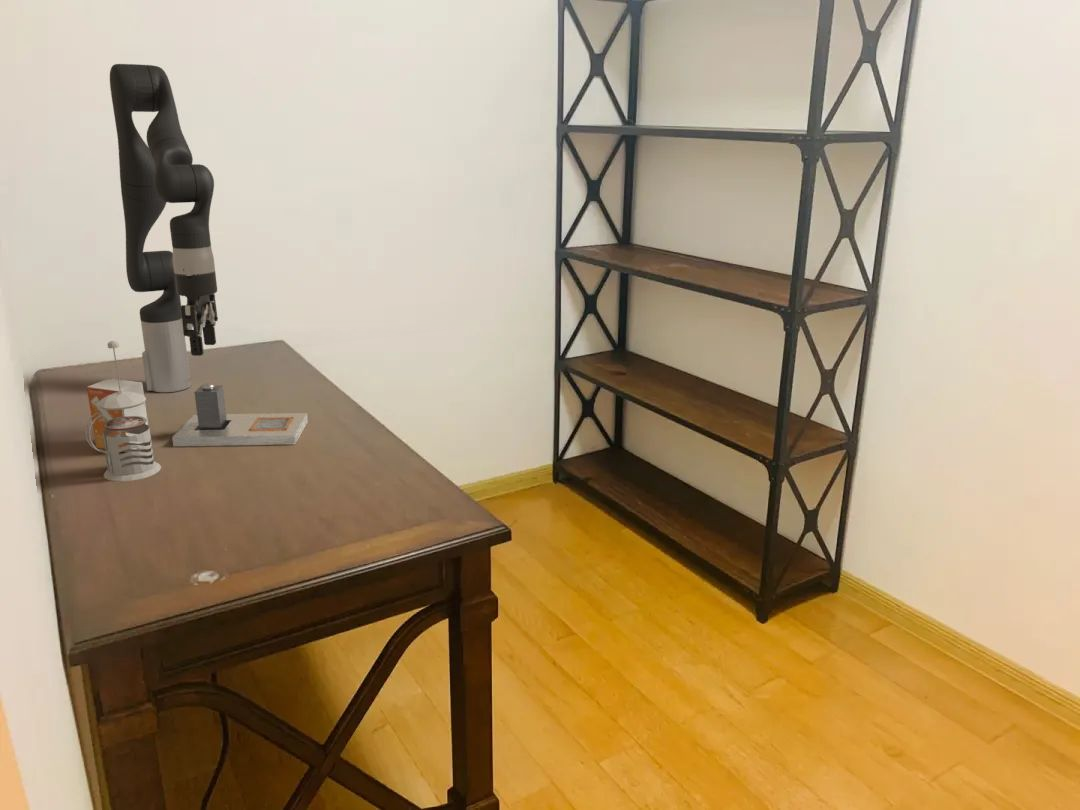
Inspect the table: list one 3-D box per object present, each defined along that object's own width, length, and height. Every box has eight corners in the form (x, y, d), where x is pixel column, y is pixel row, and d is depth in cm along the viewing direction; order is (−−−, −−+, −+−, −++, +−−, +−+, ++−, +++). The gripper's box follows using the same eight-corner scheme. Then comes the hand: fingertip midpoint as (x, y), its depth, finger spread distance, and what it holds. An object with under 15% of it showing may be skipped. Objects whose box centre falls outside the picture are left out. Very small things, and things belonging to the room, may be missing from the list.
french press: (170, 470, 156) (152, 340, 148) (105, 489, 148) (83, 352, 140) (148, 457, 163) (129, 331, 155) (84, 473, 155) (61, 342, 147)
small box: (95, 448, 166) (85, 386, 162) (119, 438, 172) (110, 377, 168) (128, 453, 164) (118, 390, 160) (152, 442, 170) (143, 381, 166)
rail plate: (173, 446, 168) (172, 436, 167) (195, 423, 181) (193, 413, 181) (295, 444, 170) (294, 434, 169) (307, 421, 183) (306, 412, 182)
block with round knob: (200, 438, 173) (194, 388, 169) (206, 430, 177) (200, 382, 174) (222, 437, 173) (216, 387, 170) (227, 430, 177) (222, 381, 174)
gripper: (186, 264, 171) (196, 341, 176) (162, 275, 157) (173, 359, 162) (224, 264, 171) (232, 341, 176) (203, 275, 158) (212, 358, 163)
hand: (204, 349), depth 169 cm, fingers open, 8 cm apart
